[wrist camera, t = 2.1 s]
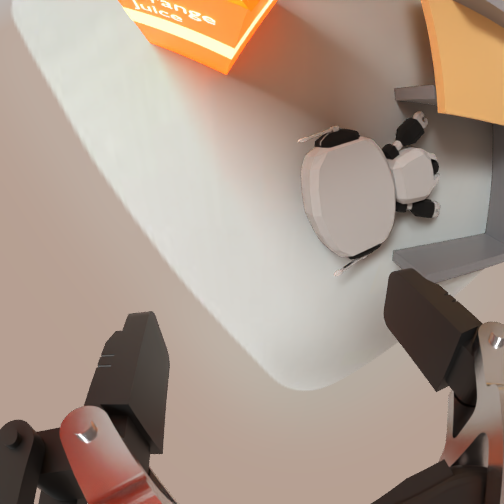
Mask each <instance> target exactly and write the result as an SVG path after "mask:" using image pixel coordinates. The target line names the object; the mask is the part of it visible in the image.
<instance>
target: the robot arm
mask: <svg viewBox="0 0 504 504" xmlns="http://www.w3.org/2000/svg"><path fill="white" fill-rule="evenodd" d="M384 319H385V323H386V325H387V327H388V328H389V330H390V331H391V332H392V334H393V335H394V336H395V337H396V339H397V340H398V341H399V343H400V344H401V345H402V346H403V348H404V349H405V350H406V352H407V353H408V354H409V356H410V357H411V358H412V359H413V361H414V362H415V364H416V365H417V366H418V368H419V369H420V370H421V372H422V373H423V374H424V376H425V377H426V378H427V380H428V381H429V383H430V384H431V385H432V387H433V388H434V389H435V391H436V392H437V391H439V390H441V389H443V388H446V387H447V386H450V388H451V389H452V390H451V392H450V394H449V398H448V420H447V434H446V444H445V448H444V451H443V453H442V455H441V457H440V460H439V462H438V463H436V464H435V465H433V466H431V467H429V468H427V469H425V470H423V471H421V472H419V473H417V474H415V475H413V476H411V477H409V478H407V479H405V480H404V481H403V482H402V483H400V484H399V485H397V486H396V487H395V488H393V489H392V490H391V491H389V492H388V493H386V494H385V495H384V496H382V497H381V498H379V499H378V500H376V501H375V502H373V503H371V504H504V324H501V323H498V322H487V323H484V324H482V323H481V322H480V321H479V320H478V319H477V318H476V317H475V316H474V315H472V314H471V313H470V312H469V311H468V310H467V309H466V308H465V307H464V306H463V305H461V304H460V303H459V302H458V301H456V299H455V298H453V297H452V296H451V295H448V292H446V291H445V290H444V289H443V288H442V287H441V286H439V285H438V284H436V283H434V282H432V281H429V280H427V279H426V278H424V277H423V276H422V275H421V274H420V273H418V272H417V271H416V270H415V269H413V268H407V269H403V270H398V271H394V272H392V273H391V274H390V276H389V279H388V287H387V294H386V300H385V307H384ZM101 356H102V357H100V360H99V362H98V368H96V371H95V374H94V377H93V379H92V382H91V385H90V388H89V392H88V395H87V398H86V401H85V404H84V406H82V407H79V408H77V409H75V410H73V411H71V412H70V413H69V414H68V415H67V416H66V417H65V418H64V420H63V421H62V423H61V426H60V428H55V429H50V430H45V431H40V432H36V431H35V430H34V429H33V428H32V427H31V426H30V425H29V424H28V423H27V422H25V421H23V420H14V421H10V422H8V423H7V424H5V425H4V426H3V427H2V428H1V429H0V504H34V499H35V493H36V489H37V487H38V488H39V489H41V494H40V499H39V504H87V503H88V504H179V503H178V502H177V501H176V500H175V499H174V497H173V496H172V495H171V494H170V492H169V491H168V490H167V489H166V487H165V486H164V485H163V484H162V482H161V481H160V480H159V478H158V477H157V476H156V474H155V473H154V472H153V470H152V469H151V468H150V467H149V458H150V454H163V439H164V424H165V411H166V399H167V388H168V378H169V368H170V367H169V366H170V363H169V355H168V351H167V348H166V345H165V342H164V339H163V336H162V333H161V331H160V328H159V325H158V322H157V319H156V316H155V314H154V313H153V312H152V311H150V312H141V313H133V314H129V315H128V317H127V319H126V322H125V325H124V328H123V331H116V332H115V333H114V334H113V335H112V336H111V337H110V338H109V340H108V341H107V342H106V343H105V346H104V349H103V351H102V355H101Z"/></svg>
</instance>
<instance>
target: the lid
mask: <svg viewBox="0 0 504 504" xmlns="http://www.w3.org/2000/svg"><path fill="white" fill-rule="evenodd" d="M421 3H422V7H423V12H424V16H425V20H426V25H427V30H428V35H429V40H430V46H431V52H432V59H433V66H434V74H435V83H436V94H437V108H438V113H442V114H449V115H455V116H460V117H465V118H471V119H475V120H480V121H485V122H489V123H493V124H498V125H502V126H504V0H421Z"/></svg>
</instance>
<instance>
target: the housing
mask: <svg viewBox="0 0 504 504" xmlns="http://www.w3.org/2000/svg"><path fill="white" fill-rule="evenodd" d="M395 100H399V101H408V102H416V103H423V104H430V105H436V106H437V94H436V85H425V86H414V87H404V88H395ZM392 261H394V262H395V263H396V264H397V265H398V266H400V267H401V268H402V269H407V268H413V269H415V270H416V271H417V272H418V273H420V274H421V275H422V276H423V277H424V278H426V279H427V280H429V281H432V282H434V283H437V282H441V281H444V280H448V279H451V278H455V277H458V276H461V275H465V274H468V273H471V272H474V271H478V270H481V269H484V268H487V267H490V266H493V265H496V264H499V263H502V262H504V126H502V125H498V124H493V169H492V183H491V194H490V203H489V211H488V219H487V225H486V231H485V233H484V234H479V235H474V236H469V237H464V238H459V239H454V240H448V241H443V242H438V243H433V244H427V245H422V246H416V247H411V248H405V249H400V250H394V251H393V260H392Z"/></svg>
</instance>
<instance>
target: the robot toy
mask: <svg viewBox="0 0 504 504" xmlns="http://www.w3.org/2000/svg"><path fill="white" fill-rule="evenodd" d="M427 124H428V120H427V118H426V117H425V118H424V113H423V112H421V111H418V112H416V113H415V114H414V115H413V118H408V119H406V120H405V121H404V122H403V123H402V124H401V126H400V127H399V128H398V129H397V133H396V141H395V142H394V143H393V144H392V145H391V144H387V145H385V146H384V147H383V148H382V149H381V148H380V147H379V146H378V145H377V144H376V142H375V141H374V140H373V139H370V138H366V137H362V136H360V135H359V133H358V132H357V131H353V130H348V129H339V126H333V127H330V128H329V129H328V130H325V131H322V132H319V133H316V134H314V135H311V136H308V137H303V138H301V139H299V140H298V141H297V142H305V141H308V140H309V139H311V138H314V137H317V136H320V135H322V136H321V137H320V138H319V139H317V140H316V141H315V147H314V148H313V149H312V150H311V151H310V152H309V153H307V154H306V155H305V158H304V161H303V165H302V169H301V188H302V195H303V203H304V210H305V213H306V215H307V217H308V219H309V221H310V223H311V225H312V227H313V230H314V231H315V233H316V235H317V236H318V238H319V239H320V241H321V242H322V243H323V244H324V245H325V246H327V247H328V248H329V249H330V250H331V251H333V252H334V253H335V254H337V255H338V256H340V257H346V256H347V257H348V258H350V259H355V260H353V261H352V262H350V263H349V264H347V265H346V266H344V267H343V268H342V269H340V270H337V271H336V272H335V274H334V276H339V275H340V274H342V272H344V271H345V270H346V269H348V268H349V267H351V266H352V265H353V264H355V263H356V262H358V261H359V260H361V259H365V258H366V257H367V256H368V254H370V253H372V252H373V251H374V250H376V249H377V248H379V247H380V245H381V243H382V242H384V241H386V239H387V237H388V236H389V234H390V232H391V229H392V227H393V224H394V219H395V211H397V212H406V210H407V209H409V210H410V211H411V212H412V213H413V214H414V215H415V216H419V217H427V218H434V217H438V215H439V212H437V211H436V209H440V204H439V203H438V202H436V201H433V202H432V201H431V200H428V199H425V198H427V197H428V196H429V195H430V193H431V190H432V189H433V188H434V187H435V186H436V185H437V183H438V181H439V176H440V174H436V173H437V172H438V169H439V165H438V163H437V161H436V160H437V158H436V156H435V154H433V153H429V152H426V151H425V150H424V149H420V148H413V147H406V145H410V144H413V143H416V141H417V140H418V139H419V138H420V137H421V136H422V135H423V134H424V128H426V126H427Z"/></svg>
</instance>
